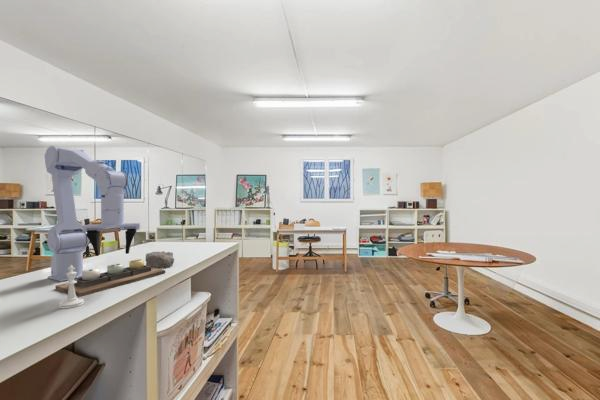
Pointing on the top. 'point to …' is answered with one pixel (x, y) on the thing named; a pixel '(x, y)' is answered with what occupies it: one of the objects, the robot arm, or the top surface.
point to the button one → (90, 274)
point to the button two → (115, 269)
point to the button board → (110, 280)
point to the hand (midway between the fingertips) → (112, 254)
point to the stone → (159, 259)
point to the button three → (136, 264)
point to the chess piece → (71, 292)
